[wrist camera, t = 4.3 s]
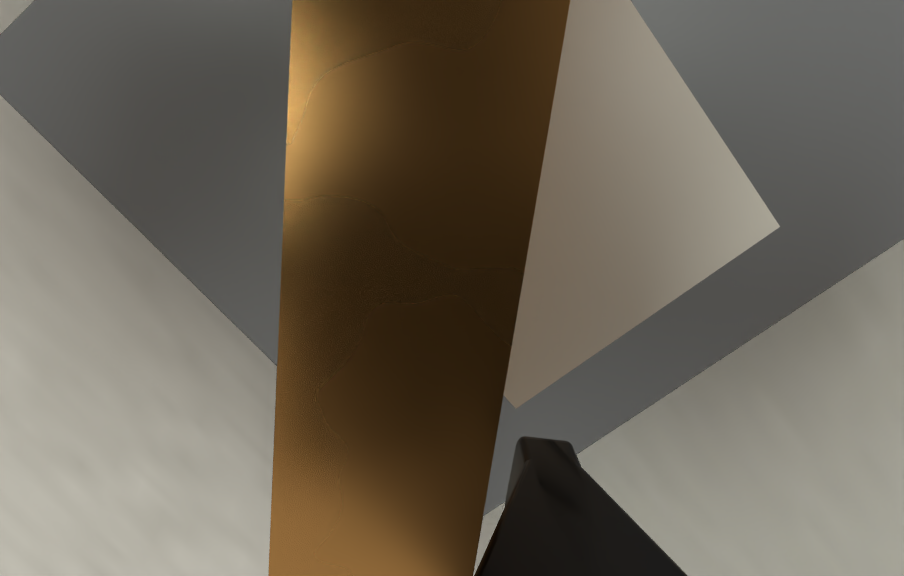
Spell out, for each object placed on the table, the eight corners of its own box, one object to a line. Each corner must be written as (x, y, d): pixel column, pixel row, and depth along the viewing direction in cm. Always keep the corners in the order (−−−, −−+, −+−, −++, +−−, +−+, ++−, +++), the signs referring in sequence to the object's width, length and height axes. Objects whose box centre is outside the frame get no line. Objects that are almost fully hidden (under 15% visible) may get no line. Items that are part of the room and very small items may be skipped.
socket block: (920, 165, 17) (1323, 332, 10) (371, 538, 21) (338, 881, 13) (567, -459, 13) (781, -1089, 5) (-51, 144, 17) (-477, 309, 9)
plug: (628, 110, 17) (785, 226, 9) (477, 225, 18) (515, 413, 10) (514, -52, 16) (594, -64, 8) (358, 80, 16) (303, 178, 9)
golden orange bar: (421, 894, 13) (421, 1049, 11) (250, 887, 13) (220, 1044, 11) (604, -172, 7) (667, -217, 5) (291, -217, 7) (240, -282, 5)
